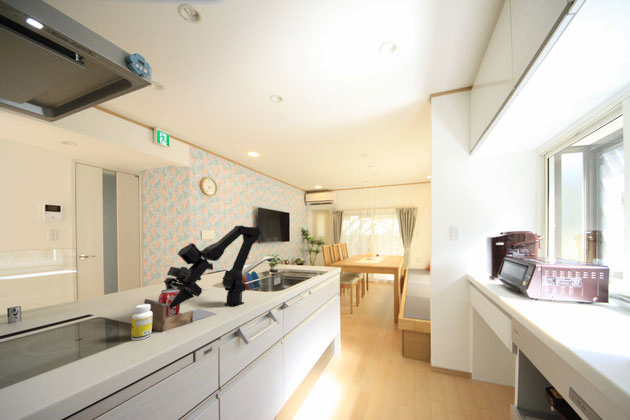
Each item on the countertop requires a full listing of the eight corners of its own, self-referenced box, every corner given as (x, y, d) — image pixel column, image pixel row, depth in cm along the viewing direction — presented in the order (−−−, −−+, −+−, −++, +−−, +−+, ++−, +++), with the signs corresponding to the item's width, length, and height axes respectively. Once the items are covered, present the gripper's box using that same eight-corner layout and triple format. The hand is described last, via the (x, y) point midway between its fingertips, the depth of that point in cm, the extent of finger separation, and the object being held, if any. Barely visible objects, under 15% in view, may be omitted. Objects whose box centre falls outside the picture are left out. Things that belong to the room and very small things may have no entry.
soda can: (183, 320, 92) (185, 288, 94) (170, 327, 85) (172, 292, 87) (165, 319, 93) (168, 287, 94) (151, 326, 86) (154, 292, 87)
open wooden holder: (173, 316, 97) (174, 293, 98) (192, 322, 91) (193, 297, 91) (142, 324, 88) (144, 299, 89) (161, 332, 81) (163, 304, 82)
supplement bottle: (133, 335, 79) (135, 304, 80) (152, 332, 81) (155, 302, 82) (128, 342, 74) (130, 308, 75) (149, 339, 76) (151, 306, 77)
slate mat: (198, 309, 106) (198, 308, 106) (215, 314, 100) (215, 313, 100) (175, 316, 97) (175, 315, 97) (193, 321, 91) (193, 320, 91)
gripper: (170, 257, 100) (137, 289, 90) (196, 260, 90) (162, 296, 79) (187, 274, 106) (158, 306, 95) (213, 278, 96) (184, 315, 85)
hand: (165, 305), depth 89 cm, fingers closed on soda can, 7 cm apart
